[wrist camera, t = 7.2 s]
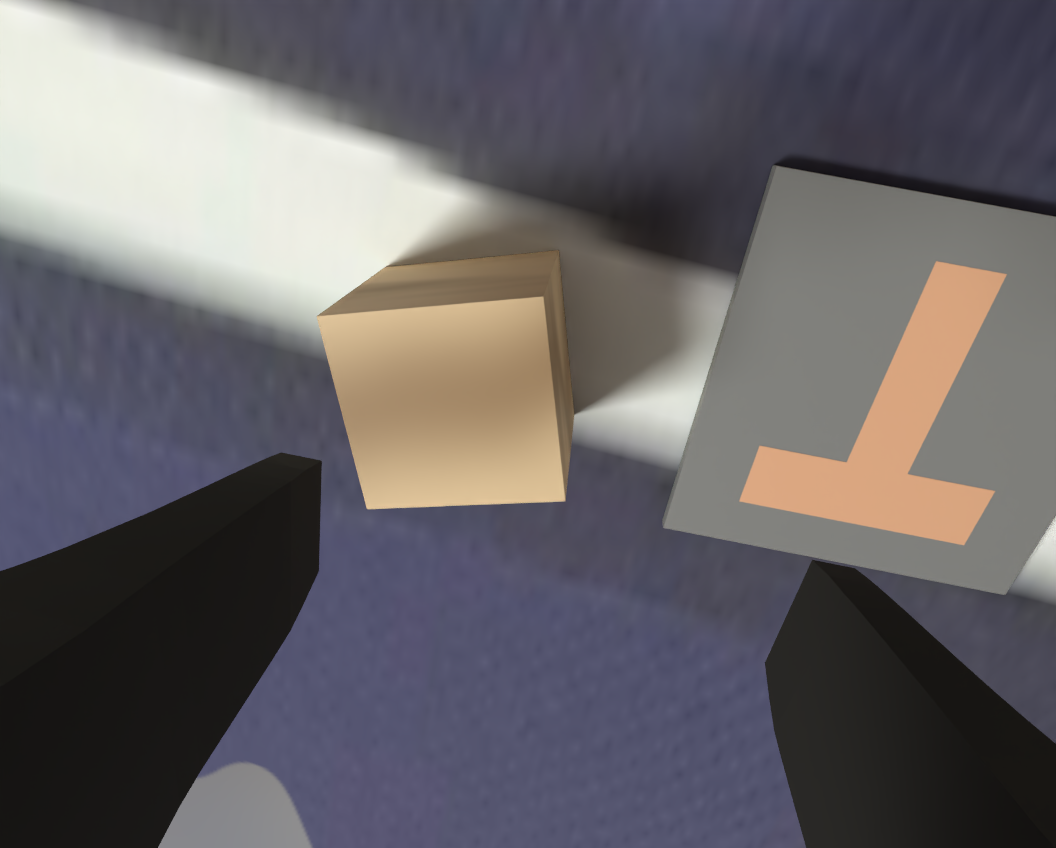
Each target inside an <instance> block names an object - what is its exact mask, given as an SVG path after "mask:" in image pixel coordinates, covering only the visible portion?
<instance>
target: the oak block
mask: <svg viewBox="0 0 1056 848" xmlns="http://www.w3.org/2000/svg"><path fill="white" fill-rule="evenodd" d="M317 319H318V323H319V327H320V331H321V335H322V339H323V342H324V346H325V350H326V354H327V358H328V362H329V365H330V369H331V373H332V377H333V381H334V384H335V388H336V392H337V396H338V400H339V404H340V407H341V411H342V415H343V419H344V423H345V427H346V430H347V434H348V438H349V442H350V446H351V449H352V453H353V457H354V461H355V465H356V469H357V472H358V476H359V480H360V484H361V488H362V492H363V495H364V499H365V503H366V507H367V509H383V508H408V507H433V506H458V505H483V504H507V503H532V502H557V501H565V499H566V490H567V480H568V470H569V460H570V451H571V441H572V431H573V422H574V407H573V396H572V386H571V375H570V364H569V354H568V343H567V332H566V322H565V311H564V300H563V290H562V279H561V268H560V258H559V250H556V251H545V252H535V253H525V254H515V255H504V256H494V257H484V258H474V259H463V260H453V261H443V262H433V263H422V264H412V265H402V266H392V267H385V268H383V269H382V270H380V271H379V272H378V273H376V274H375V275H374V276H372V277H371V278H369V279H368V280H367V281H365V282H364V283H362V284H361V285H360V286H358V287H357V288H355V289H354V290H353V291H351V292H350V293H348V294H347V295H346V296H344V297H343V298H341V299H340V300H339V301H337V302H336V303H334V304H333V305H332V306H330V307H329V308H328V309H326V310H325V311H323V312H322V313H321V314H319V315H318V316H317Z"/></svg>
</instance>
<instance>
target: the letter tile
mask: <svg viewBox="0 0 1056 848" xmlns="http://www.w3.org/2000/svg"><path fill="white" fill-rule="evenodd" d="M1055 516H1056V216H1050V215H1045V214H1040V213H1034V212H1029V211H1023V210H1018V209H1012V208H1007V207H1001V206H996V205H990V204H985V203H979V202H974V201H968V200H963V199H957V198H952V197H946V196H941V195H935V194H930V193H924V192H919V191H914V190H908V189H903V188H897V187H892V186H886V185H881V184H875V183H870V182H864V181H859V180H853V179H848V178H842V177H837V176H831V175H826V174H820V173H815V172H809V171H804V170H799V169H793V168H788V167H782V166H777V165H773V166H772V169H771V173H770V176H769V179H768V182H767V186H766V189H765V192H764V195H763V198H762V202H761V205H760V208H759V211H758V215H757V218H756V221H755V224H754V227H753V231H752V234H751V237H750V240H749V244H748V247H747V250H746V253H745V256H744V260H743V263H742V266H741V269H740V273H739V276H738V279H737V282H736V285H735V289H734V292H733V295H732V298H731V301H730V305H729V308H728V311H727V314H726V318H725V321H724V324H723V327H722V330H721V334H720V337H719V340H718V343H717V347H716V350H715V353H714V356H713V359H712V363H711V366H710V369H709V372H708V376H707V379H706V382H705V385H704V388H703V392H702V395H701V398H700V401H699V405H698V408H697V411H696V414H695V417H694V421H693V424H692V427H691V430H690V434H689V437H688V440H687V443H686V446H685V450H684V453H683V456H682V459H681V462H680V466H679V469H678V472H677V475H676V479H675V482H674V485H673V488H672V491H671V495H670V498H669V501H668V504H667V508H666V511H665V514H664V517H663V520H662V521H663V528H668V529H673V530H678V531H683V532H688V533H693V534H698V535H703V536H708V537H713V538H718V539H723V540H728V541H733V542H739V543H744V544H749V545H754V546H759V547H764V548H769V549H774V550H779V551H784V552H789V553H794V554H799V555H804V556H810V557H815V558H820V559H825V560H830V561H835V562H840V563H845V564H850V565H855V566H860V567H865V568H870V569H875V570H881V571H886V572H891V573H896V574H901V575H906V576H911V577H916V578H921V579H926V580H931V581H936V582H941V583H946V584H952V585H957V586H962V587H967V588H972V589H977V590H982V591H987V592H992V593H997V594H1002V595H1005V594H1006V592H1007V591H1008V589H1009V588H1010V586H1011V585H1012V583H1013V582H1014V580H1015V578H1016V577H1017V575H1018V574H1019V572H1020V571H1021V569H1022V568H1023V566H1024V564H1025V563H1026V561H1027V560H1028V558H1029V557H1030V555H1031V553H1032V552H1033V550H1034V549H1035V547H1036V546H1037V544H1038V543H1039V541H1040V539H1041V538H1042V536H1043V535H1044V533H1045V532H1046V530H1047V529H1048V527H1049V525H1050V524H1051V522H1052V521H1053V519H1054V518H1055Z"/></svg>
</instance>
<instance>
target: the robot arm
mask: <svg viewBox="0 0 1056 848" xmlns="http://www.w3.org/2000/svg"><path fill="white" fill-rule="evenodd" d="M321 466H322V461H320V460H315V459H310V458H305V457H300V456H295V455H290V454H285V453H279V454H276V455H274V456H271V457H269V458H266V459H264V460H262V461H259V462H257V463H255V464H253V465H251V466H248V467H246V468H244V469H242V470H240V471H238V472H236V473H233V474H231V475H229V476H227V477H225V478H223V479H221V480H219V481H217V482H214V483H212V484H210V485H208V486H206V487H204V488H202V489H199V490H197V491H195V492H193V493H191V494H189V495H186V496H184V497H182V498H180V499H178V500H176V501H173V502H171V503H169V504H167V505H165V506H163V507H160V508H158V509H156V510H154V511H152V512H149V513H147V514H145V515H142V516H140V517H138V518H135V519H133V520H130V521H128V522H126V523H123V524H121V525H118V526H116V527H114V528H111V529H109V530H106V531H104V532H102V533H99V534H97V535H94V536H92V537H90V538H87V539H85V540H82V541H80V542H78V543H75V544H73V545H71V546H68V547H66V548H63V549H60V550H58V551H55V552H53V553H50V554H47V555H45V556H42V557H39V558H37V559H34V560H31V561H28V562H26V563H23V564H20V565H17V566H15V567H12V568H9V569H6V570H3V571H0V848H158V846H159V844H160V843H161V841H162V839H163V837H164V835H165V833H166V831H167V829H168V827H169V825H170V823H171V821H172V820H173V818H174V816H175V814H176V812H177V810H178V808H179V806H180V805H181V803H182V801H183V800H184V798H185V796H186V795H187V793H188V791H189V789H190V788H191V786H192V784H193V783H194V781H195V779H196V778H197V776H198V774H199V773H200V771H201V769H202V768H203V766H204V765H205V763H206V762H207V760H208V759H209V757H210V756H211V754H212V752H213V751H214V749H215V748H216V746H217V745H218V743H219V742H220V740H221V738H222V737H223V735H224V734H225V732H226V731H227V729H228V728H229V726H230V725H231V723H232V721H233V720H234V718H235V717H236V715H237V714H238V712H239V711H240V709H241V707H242V706H243V704H244V703H245V701H246V700H247V698H248V697H249V695H250V694H251V692H252V690H253V689H254V687H255V686H256V684H257V683H258V681H259V680H260V678H261V677H262V675H263V673H264V672H265V670H266V669H267V667H268V665H269V664H270V662H271V661H272V659H273V658H274V656H275V654H276V653H277V651H278V650H279V648H280V647H281V645H282V643H283V642H284V640H285V639H286V637H287V635H288V634H289V632H290V631H291V628H292V626H293V624H294V622H295V620H296V618H297V616H298V614H299V612H300V610H301V608H302V606H303V604H304V602H305V600H306V598H307V595H308V593H309V591H310V589H311V587H312V584H313V582H314V580H315V578H316V576H317V574H318V571H319V541H320V504H321ZM765 667H766V675H767V683H768V691H769V699H770V706H771V712H772V719H773V725H774V731H775V735H776V739H777V743H778V747H779V751H780V754H781V758H782V762H783V765H784V769H785V773H786V777H787V780H788V784H789V788H790V791H791V795H792V798H793V802H794V805H795V809H796V813H797V816H798V820H799V823H800V827H801V830H802V834H803V837H804V841H805V845H806V848H1056V744H1055V743H1054V742H1053V741H1052V740H1050V739H1049V738H1048V737H1047V736H1046V735H1044V734H1043V733H1042V732H1041V731H1040V730H1038V729H1037V728H1036V727H1035V726H1034V725H1032V724H1031V723H1030V722H1029V721H1028V720H1026V719H1025V718H1024V717H1023V716H1022V715H1021V714H1019V713H1018V712H1017V711H1016V710H1015V709H1014V708H1013V707H1011V706H1010V705H1009V704H1008V703H1007V702H1006V701H1005V700H1003V699H1002V698H1001V697H1000V696H999V695H998V694H996V693H995V692H994V691H993V690H992V689H991V688H990V687H989V686H987V685H986V684H985V683H984V682H983V681H982V680H981V679H980V678H978V677H977V676H976V675H975V674H974V673H973V672H972V671H971V670H970V669H968V668H967V667H966V666H965V665H964V664H963V663H962V662H961V661H960V660H958V659H957V658H956V657H955V656H954V655H953V654H952V653H951V652H950V651H949V650H947V649H946V648H945V647H944V646H943V645H942V644H941V643H940V642H939V641H938V640H936V639H935V638H934V637H933V636H932V635H931V634H930V633H929V632H928V631H927V630H926V629H924V628H923V627H922V626H921V625H920V624H919V623H918V622H917V621H916V620H915V619H913V618H912V617H911V616H910V615H909V614H908V613H907V612H906V611H905V610H904V609H902V608H901V607H900V606H899V605H898V604H897V603H896V602H895V601H893V600H892V599H891V598H890V597H889V596H888V595H887V594H886V593H884V592H883V591H882V590H881V589H880V588H879V587H878V586H876V585H875V584H874V583H873V582H872V581H870V580H869V579H868V578H867V577H865V576H864V575H863V574H861V573H860V572H859V571H858V570H856V569H855V568H850V567H845V566H840V565H835V564H830V563H825V562H820V561H815V560H812V562H811V564H810V566H809V568H808V571H807V573H806V575H805V577H804V579H803V581H802V584H801V586H800V588H799V590H798V592H797V594H796V597H795V599H794V601H793V603H792V605H791V607H790V610H789V612H788V614H787V616H786V618H785V621H784V623H783V625H782V627H781V629H780V631H779V634H778V636H777V638H776V640H775V642H774V644H773V647H772V649H771V651H770V653H769V655H768V658H767V660H766V662H765Z"/></svg>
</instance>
